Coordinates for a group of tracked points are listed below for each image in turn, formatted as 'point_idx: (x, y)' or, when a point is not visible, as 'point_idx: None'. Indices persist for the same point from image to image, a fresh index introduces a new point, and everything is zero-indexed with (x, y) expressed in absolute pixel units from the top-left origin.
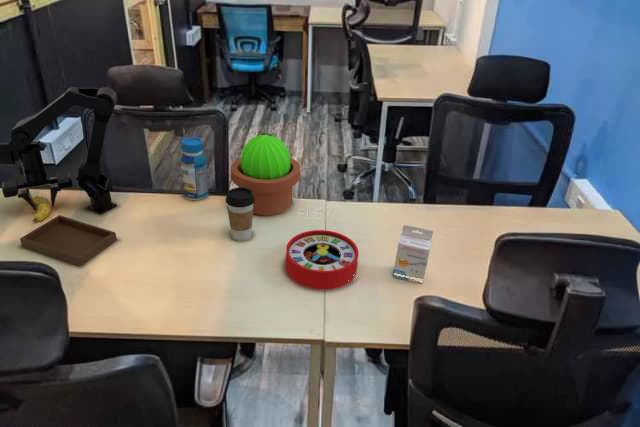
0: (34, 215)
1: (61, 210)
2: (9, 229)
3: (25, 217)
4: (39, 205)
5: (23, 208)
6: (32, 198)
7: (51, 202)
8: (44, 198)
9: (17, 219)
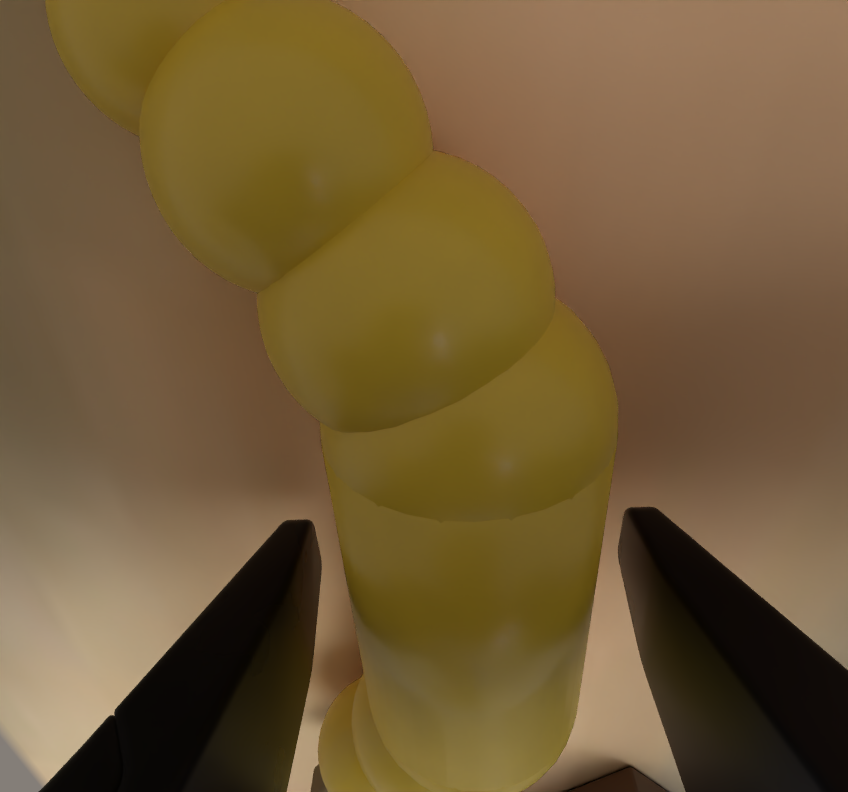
0: (324, 783)
1: (725, 541)
2: (48, 733)
3: (164, 569)
4: (402, 729)
5: (2, 255)
6: (115, 85)
7: (664, 728)
8: (540, 546)
9: (55, 585)
